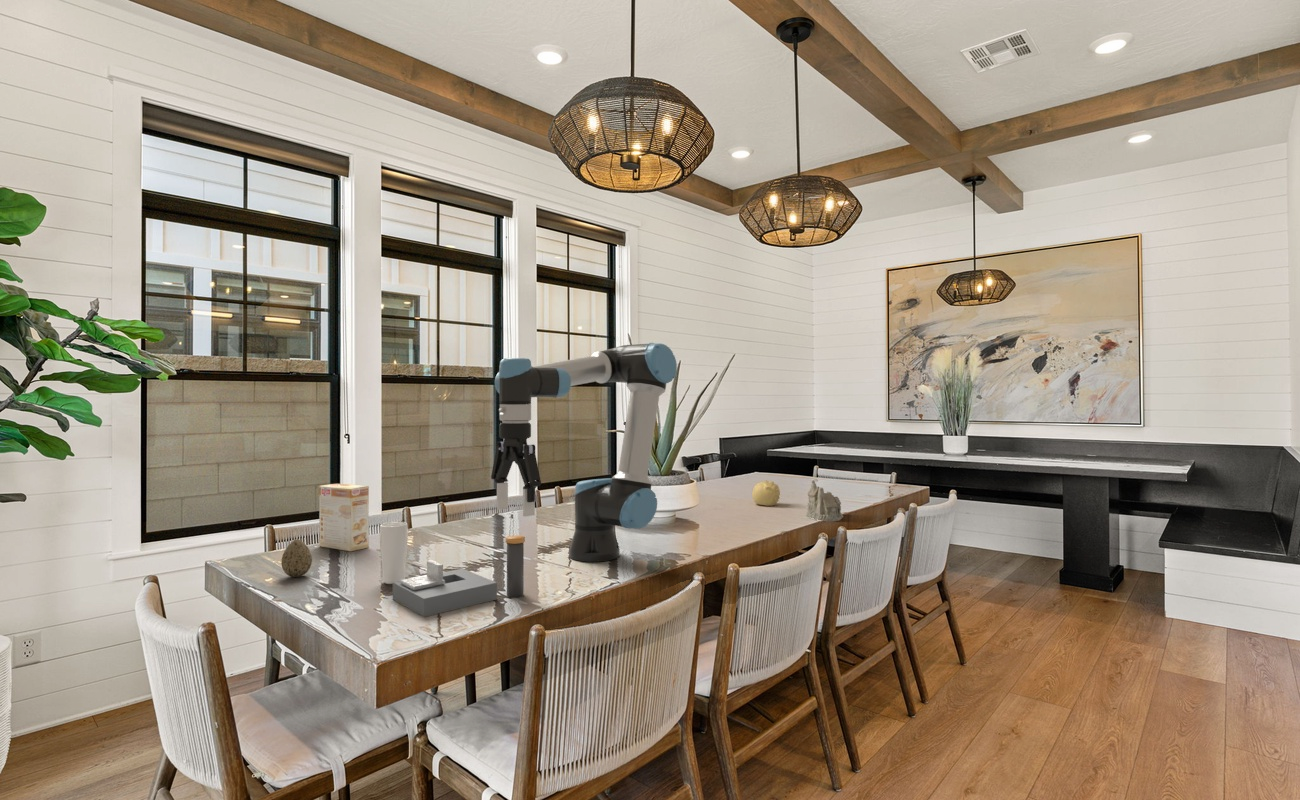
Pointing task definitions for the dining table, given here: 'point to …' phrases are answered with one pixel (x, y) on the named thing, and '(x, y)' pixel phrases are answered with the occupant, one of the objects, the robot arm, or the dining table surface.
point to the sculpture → (766, 493)
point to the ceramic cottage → (823, 505)
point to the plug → (515, 566)
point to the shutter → (426, 577)
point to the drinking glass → (393, 550)
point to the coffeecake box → (344, 516)
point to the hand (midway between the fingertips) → (515, 512)
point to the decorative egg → (296, 559)
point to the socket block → (447, 593)
